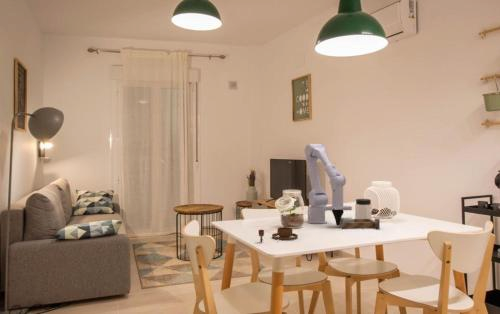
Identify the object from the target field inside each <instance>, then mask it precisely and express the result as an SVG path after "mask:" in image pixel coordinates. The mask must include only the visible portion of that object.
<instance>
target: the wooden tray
mask: <svg viewBox="0 0 500 314" xmlns="http://www.w3.org/2000/svg"><path fill="white" fill-rule="evenodd" d="M353 219H354V222H343V223H342V227H341V228H342V230H343V229H345V230H347V229H350V230H351V229H352V230H353V229H354V230H355V229H375V230H380V229H381V228H380V225H381V224H380V222H381V221H380V218H374V220H373V219H372V218H371V219H355V218H353ZM336 226H340V224H336Z"/></svg>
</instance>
